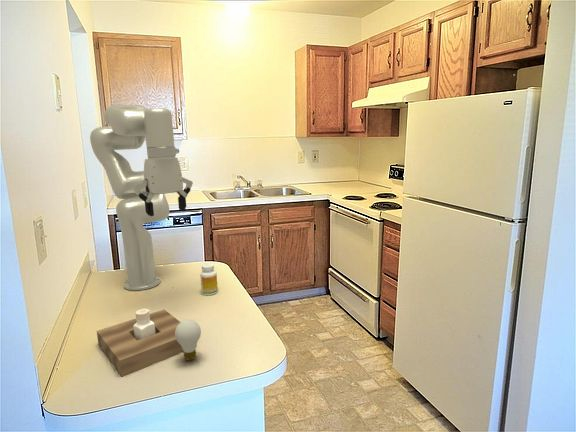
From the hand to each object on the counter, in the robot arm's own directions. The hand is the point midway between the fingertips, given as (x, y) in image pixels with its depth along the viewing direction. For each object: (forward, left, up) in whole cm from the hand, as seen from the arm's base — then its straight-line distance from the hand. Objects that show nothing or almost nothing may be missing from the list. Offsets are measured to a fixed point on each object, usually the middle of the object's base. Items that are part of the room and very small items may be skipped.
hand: (166, 212), depth 113 cm
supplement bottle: (-4, +14, -31) cm, 34 cm away
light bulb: (+28, -9, -31) cm, 43 cm away
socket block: (+15, -15, -30) cm, 37 cm away
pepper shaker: (+15, -15, -31) cm, 37 cm away
